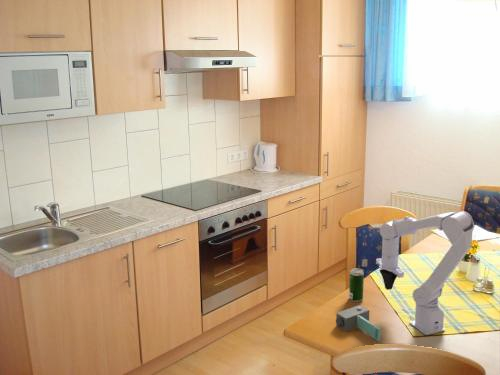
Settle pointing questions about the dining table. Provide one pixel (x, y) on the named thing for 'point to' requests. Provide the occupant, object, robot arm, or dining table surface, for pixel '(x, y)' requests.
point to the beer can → (356, 285)
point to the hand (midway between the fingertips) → (388, 288)
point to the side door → (369, 328)
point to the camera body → (350, 317)
